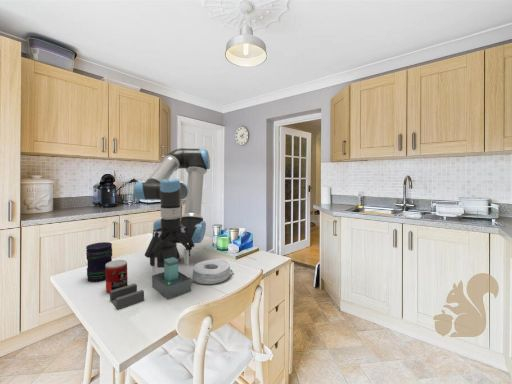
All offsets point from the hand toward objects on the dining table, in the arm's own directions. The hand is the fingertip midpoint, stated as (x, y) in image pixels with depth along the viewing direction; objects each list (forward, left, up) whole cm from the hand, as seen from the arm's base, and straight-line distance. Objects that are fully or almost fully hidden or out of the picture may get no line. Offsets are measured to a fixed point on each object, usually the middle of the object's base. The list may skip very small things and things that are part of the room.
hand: (171, 268), depth 99 cm
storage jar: (-32, -18, -9) cm, 38 cm away
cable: (+2, +19, -9) cm, 21 cm away
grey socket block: (0, 0, -8) cm, 9 cm away
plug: (0, 0, -8) cm, 8 cm away
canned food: (-15, -16, -9) cm, 24 cm away
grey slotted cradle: (-3, -16, -8) cm, 18 cm away
